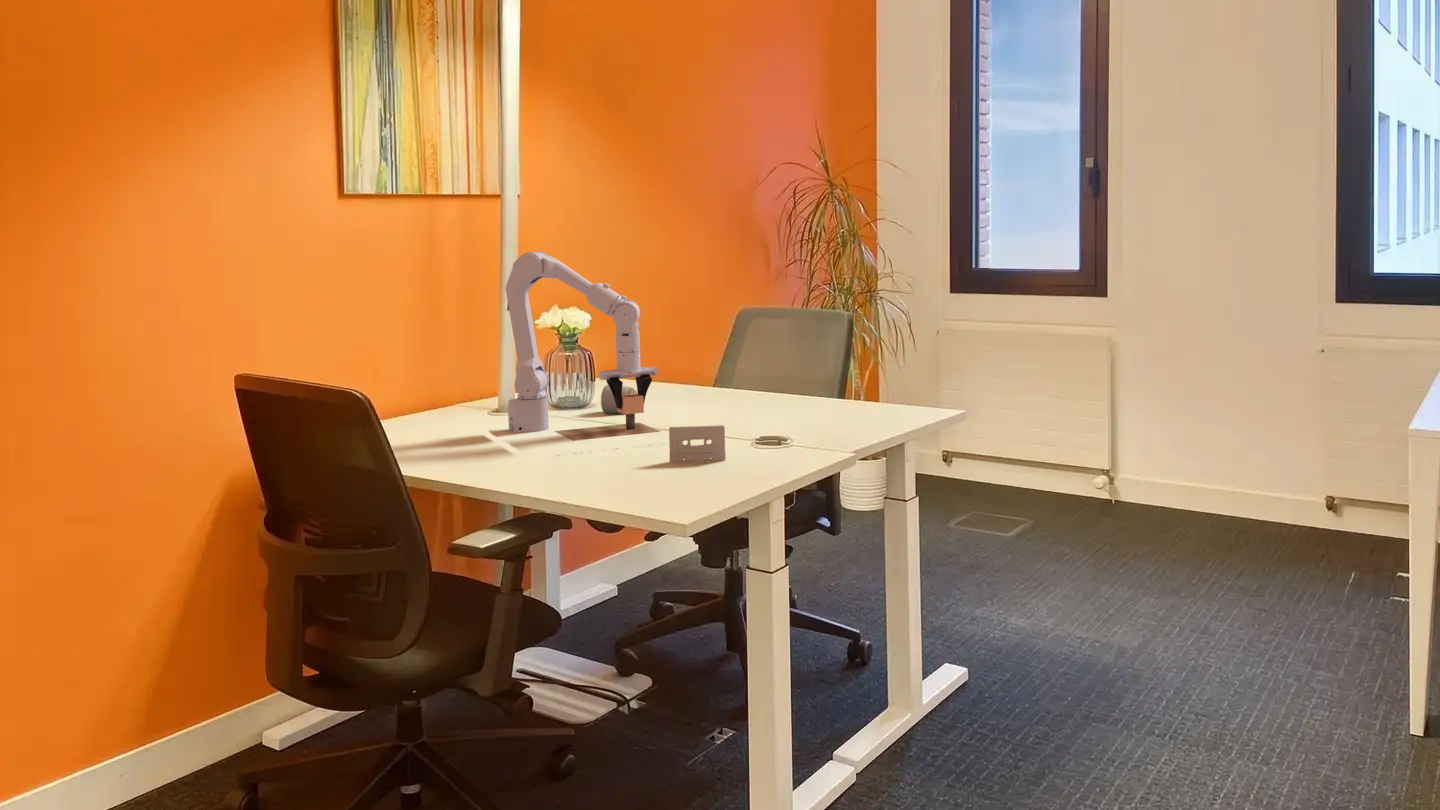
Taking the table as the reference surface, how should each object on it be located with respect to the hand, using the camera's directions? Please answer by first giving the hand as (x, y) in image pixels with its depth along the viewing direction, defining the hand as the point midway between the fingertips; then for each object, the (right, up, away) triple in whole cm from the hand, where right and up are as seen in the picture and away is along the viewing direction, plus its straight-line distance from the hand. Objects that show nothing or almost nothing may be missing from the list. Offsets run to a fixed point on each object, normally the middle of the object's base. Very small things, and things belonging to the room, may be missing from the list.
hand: (630, 407), depth 298 cm
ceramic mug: (-5, -2, +31) cm, 32 cm away
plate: (-5, -7, -1) cm, 9 cm away
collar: (0, -1, 0) cm, 1 cm away
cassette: (+17, -12, -33) cm, 39 cm away
